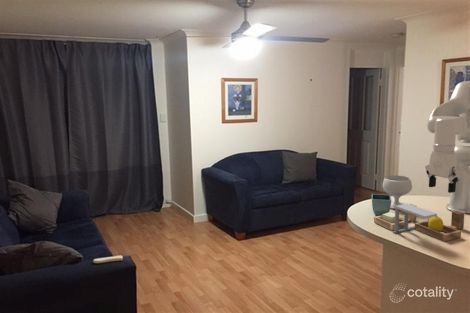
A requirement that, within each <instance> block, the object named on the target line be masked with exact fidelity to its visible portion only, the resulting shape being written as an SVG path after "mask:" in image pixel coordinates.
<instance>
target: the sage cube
mask: <svg viewBox="0 0 470 313" xmlns="http://www.w3.org/2000/svg"><path fill="white" fill-rule="evenodd" d="M382 220H385V221H387V222H390V223H392V224H393V223H395V212H394V213H393V212H390V211H389V212H388V213H385V214H383V215H382Z"/></svg>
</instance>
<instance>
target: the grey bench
mask: <svg viewBox="0 0 470 313" xmlns="http://www.w3.org/2000/svg"><path fill="white" fill-rule="evenodd" d="M410 204H411V203H406V204H402V205H397V206H395V209H394V210H395V212H394V214H395V230H392V234H394V235H395V234H399V233H400V234H401V233H404V232H407V231H413V230H415V225H414V226H410V227H409V222H408V215H409V213H410V214H413V215H415V216H416V217H419V218H421V219H423V220H424V219H425V220H426V219H430V218H432V217H435V216H438V213H436V212H434V211H431V210H427V209H424V208H421V207H418V206H417V205H415V206H413V205H414V204H412V205H410ZM416 206H417V207H416ZM400 211H402V212H404V215H403V216H404V217H403V218H404V228H400V229H399V218H400Z"/></svg>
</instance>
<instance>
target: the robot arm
mask: <svg viewBox="0 0 470 313" xmlns="http://www.w3.org/2000/svg"><path fill="white" fill-rule="evenodd" d="M426 126H427V130H428V132H430V134H431V133H432V134H434V139H433V140H434V141H433V144H432V148H433V150H432V151H431V153H430V157H429V162H428V164H427V165H425V166H424V168H425V171H426V172H425V173H426V175H427V177H428V187H429V188H434V187H436V185H437V177H439V178H443V179H448V181H449V182H448V184H447V187H448V188H447V192H448V193H449V194H450V195H449V196H450V197H449V203H447V204H446V205H445V208H446V210H448V211H451V212H453V211H460V212H463V213H465V214H470V145H457V146H456V140H457V141H458V142H459V143H462V144H470V80H463V81H461V82H459V83H458V84H456V85H455V87H454V89H453V92H452V93H451V96H450V98H449V100H447V101H445V102H443V103H442V104H439V105H437V106H436V107H435V108H434V109H433V110H432V112H431V114H430V116H429V118H428V121H427V125H426Z"/></svg>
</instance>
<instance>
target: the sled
mask: <svg viewBox="0 0 470 313" xmlns="http://www.w3.org/2000/svg"><path fill="white" fill-rule="evenodd" d="M409 204H410V205H413V206H416V207H418V206H417V205H415V204H412V203H409ZM416 221H417V216H415V215H413V214H410V213H409V215H408V223H409V222H411V223H412V222H416ZM373 223H375V224H376V225H379V226H382V227H384V228H385V229H388V230H390V231H395V223H393V224H392V223H390V222H387V221H385V220H382V215H381V216H374V217H373ZM400 229H404V217H402V218H401V217H399V230H400Z"/></svg>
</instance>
